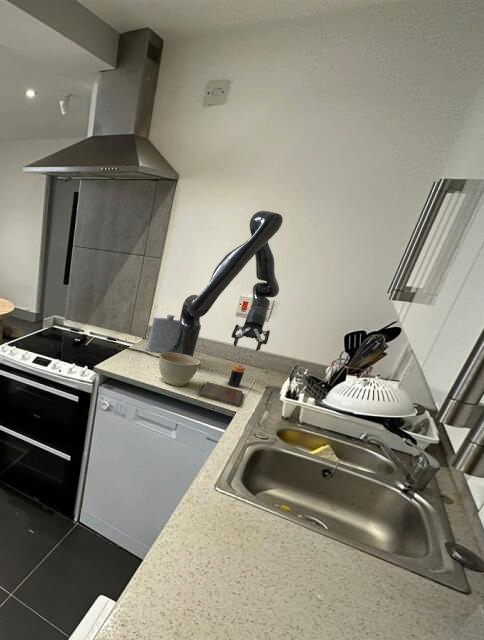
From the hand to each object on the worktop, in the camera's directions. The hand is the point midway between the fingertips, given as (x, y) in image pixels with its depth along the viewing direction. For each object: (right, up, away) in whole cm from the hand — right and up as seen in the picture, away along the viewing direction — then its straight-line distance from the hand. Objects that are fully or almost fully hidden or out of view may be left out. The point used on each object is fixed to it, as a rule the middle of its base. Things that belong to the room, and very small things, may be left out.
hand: (246, 347), depth 174 cm
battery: (-7, -17, -2) cm, 18 cm away
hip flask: (-25, +1, +34) cm, 42 cm away
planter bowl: (-34, -15, -4) cm, 38 cm away
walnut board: (-18, -20, -14) cm, 31 cm away
